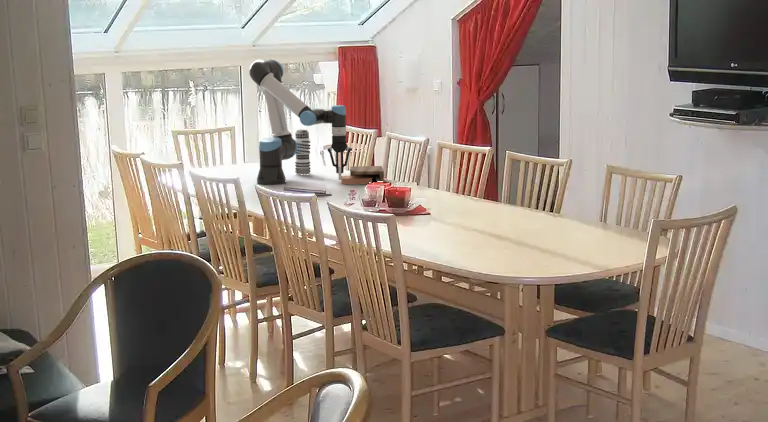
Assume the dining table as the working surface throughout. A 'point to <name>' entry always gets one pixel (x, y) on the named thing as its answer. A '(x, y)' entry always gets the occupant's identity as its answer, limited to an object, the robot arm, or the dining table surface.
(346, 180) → the terracotta tile
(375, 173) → the walnut shelf
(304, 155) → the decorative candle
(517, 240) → the dining table surface
